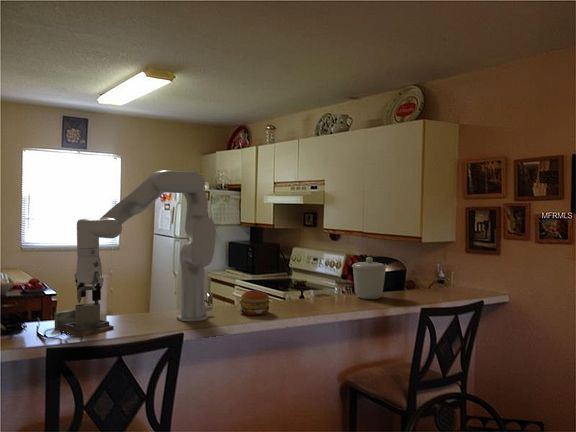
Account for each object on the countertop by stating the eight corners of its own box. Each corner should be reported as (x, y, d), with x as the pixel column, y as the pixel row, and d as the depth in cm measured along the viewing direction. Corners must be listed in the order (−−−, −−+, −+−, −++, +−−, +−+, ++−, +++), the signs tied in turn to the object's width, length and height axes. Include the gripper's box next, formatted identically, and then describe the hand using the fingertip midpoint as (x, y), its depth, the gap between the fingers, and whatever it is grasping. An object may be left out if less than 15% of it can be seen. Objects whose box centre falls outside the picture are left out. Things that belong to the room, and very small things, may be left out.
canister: (347, 294, 265) (348, 255, 264) (380, 294, 267) (381, 255, 266) (355, 301, 247) (356, 259, 246) (390, 301, 249) (392, 259, 248)
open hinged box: (89, 322, 194) (89, 306, 194) (113, 329, 185) (113, 312, 185) (54, 329, 183) (54, 312, 183) (78, 337, 173) (78, 319, 173)
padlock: (74, 326, 182) (75, 286, 182) (98, 324, 186) (98, 284, 186) (76, 329, 179) (76, 288, 178) (100, 326, 183) (100, 286, 183)
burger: (274, 315, 212) (274, 292, 212) (244, 318, 207) (244, 294, 207) (263, 309, 225) (264, 287, 224) (234, 311, 219) (235, 288, 219)
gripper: (111, 253, 180) (111, 300, 180) (84, 250, 190) (85, 294, 191) (92, 255, 174) (93, 303, 174) (65, 251, 184) (66, 297, 185)
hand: (88, 298), depth 183 cm, fingers open, 9 cm apart
